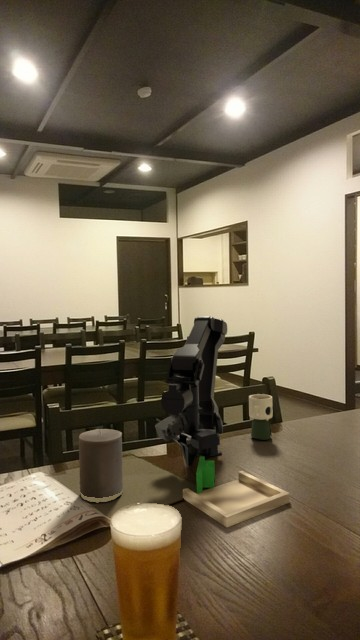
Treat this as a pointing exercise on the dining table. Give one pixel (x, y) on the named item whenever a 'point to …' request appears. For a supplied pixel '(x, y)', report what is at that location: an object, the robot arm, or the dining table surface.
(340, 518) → the dining table surface
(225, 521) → the corral
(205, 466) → the pipe clamp
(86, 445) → the pillar candle
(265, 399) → the character mug
